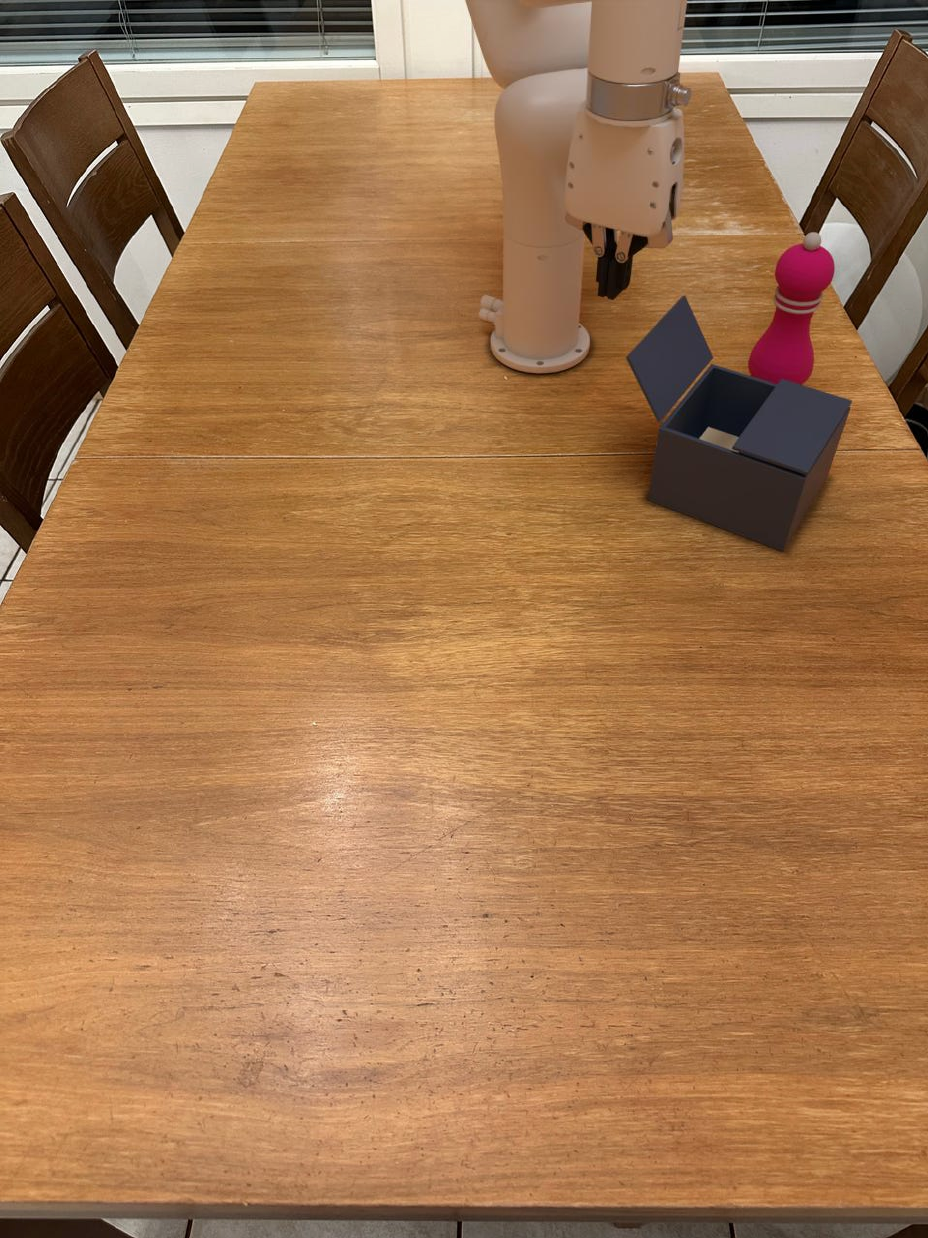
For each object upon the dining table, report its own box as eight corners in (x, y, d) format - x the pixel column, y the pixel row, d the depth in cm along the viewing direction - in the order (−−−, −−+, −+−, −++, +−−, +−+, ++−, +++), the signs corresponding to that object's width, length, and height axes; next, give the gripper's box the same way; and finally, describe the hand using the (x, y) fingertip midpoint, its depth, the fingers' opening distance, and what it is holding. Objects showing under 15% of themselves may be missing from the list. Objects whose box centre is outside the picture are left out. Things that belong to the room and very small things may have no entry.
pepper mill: (804, 416, 110) (853, 252, 95) (740, 410, 111) (778, 247, 96) (802, 381, 114) (848, 219, 99) (741, 375, 115) (777, 214, 100)
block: (685, 481, 102) (691, 448, 99) (701, 458, 104) (708, 426, 101) (723, 495, 100) (731, 462, 97) (739, 472, 103) (747, 439, 99)
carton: (647, 500, 101) (659, 421, 93) (697, 435, 108) (712, 356, 100) (782, 551, 95) (807, 472, 87) (826, 479, 102) (853, 400, 94)
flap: (660, 421, 93) (657, 422, 93) (713, 357, 100) (710, 358, 100) (628, 356, 90) (625, 357, 90) (685, 294, 97) (681, 296, 97)
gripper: (730, 93, 80) (697, 294, 93) (574, 64, 85) (564, 257, 99) (694, 124, 75) (664, 330, 89) (532, 91, 81) (528, 289, 95)
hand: (612, 291), depth 94 cm, fingers closed
